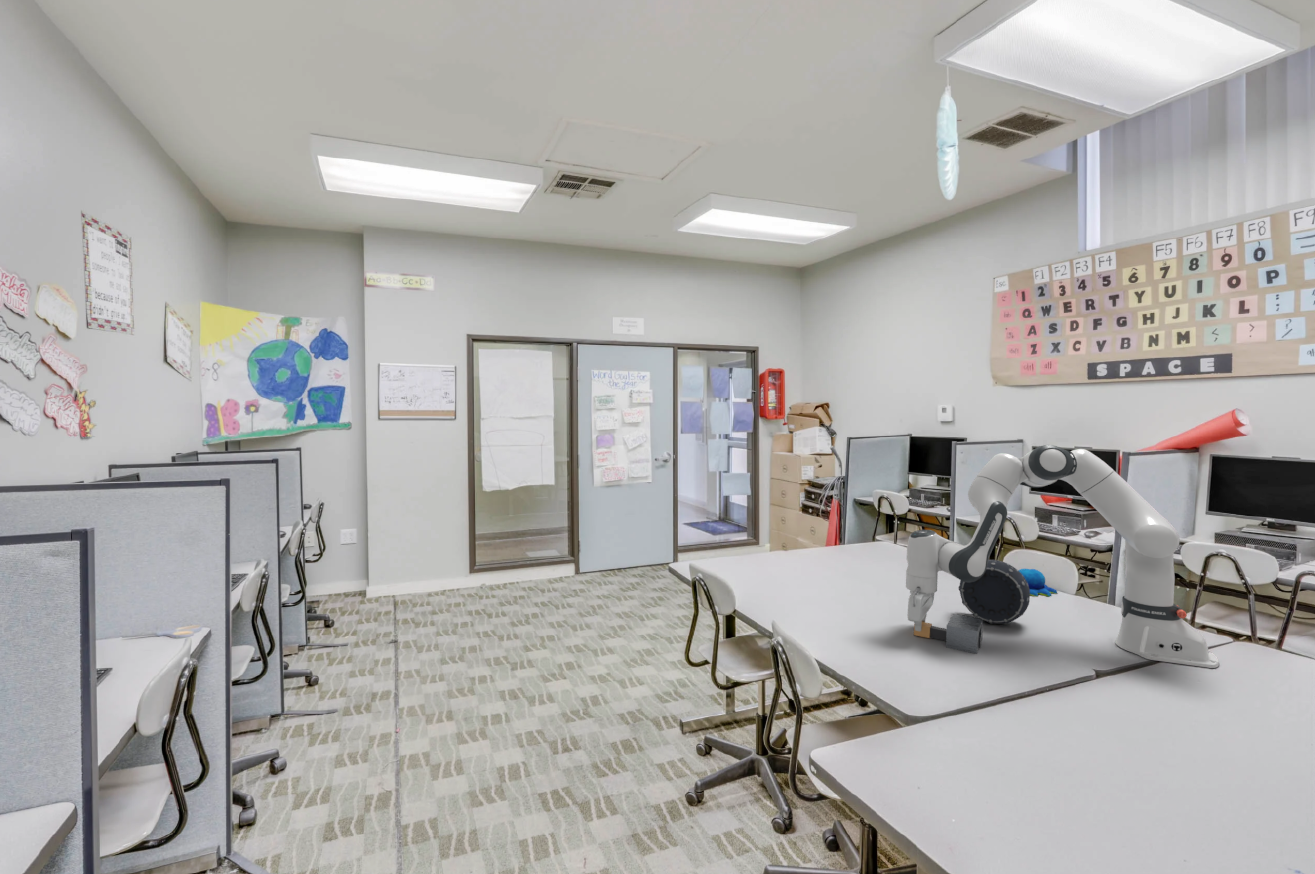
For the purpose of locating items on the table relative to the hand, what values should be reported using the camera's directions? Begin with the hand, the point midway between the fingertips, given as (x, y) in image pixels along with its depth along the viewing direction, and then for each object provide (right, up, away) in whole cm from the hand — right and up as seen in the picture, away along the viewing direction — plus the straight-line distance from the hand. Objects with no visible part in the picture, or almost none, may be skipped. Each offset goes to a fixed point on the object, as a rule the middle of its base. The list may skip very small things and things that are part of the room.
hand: (920, 627), depth 185 cm
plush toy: (+62, -1, +46) cm, 78 cm away
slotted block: (+10, -3, -7) cm, 12 cm away
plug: (+6, -2, -4) cm, 8 cm away
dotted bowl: (+29, -2, +12) cm, 31 cm away
